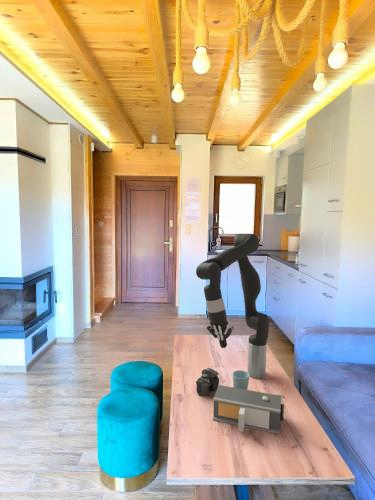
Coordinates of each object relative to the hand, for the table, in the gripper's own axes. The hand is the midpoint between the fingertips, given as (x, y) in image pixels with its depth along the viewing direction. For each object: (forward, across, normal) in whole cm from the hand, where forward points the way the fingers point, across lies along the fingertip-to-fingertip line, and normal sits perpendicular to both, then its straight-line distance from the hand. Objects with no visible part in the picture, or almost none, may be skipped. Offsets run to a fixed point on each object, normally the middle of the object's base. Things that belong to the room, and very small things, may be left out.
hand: (223, 347), depth 135 cm
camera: (+25, +17, -3) cm, 30 cm away
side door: (+27, -14, +11) cm, 32 cm away
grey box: (+28, -8, +4) cm, 29 cm away
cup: (+28, +2, -8) cm, 29 cm away
